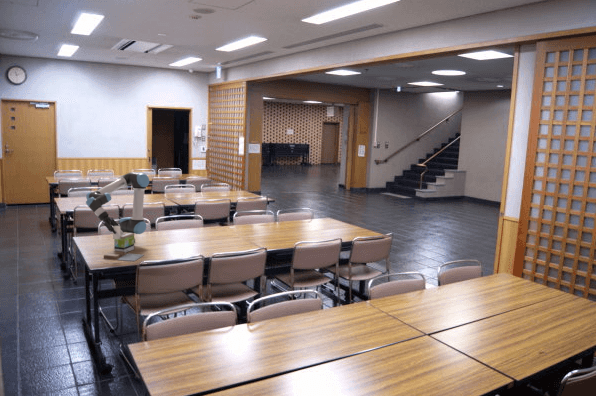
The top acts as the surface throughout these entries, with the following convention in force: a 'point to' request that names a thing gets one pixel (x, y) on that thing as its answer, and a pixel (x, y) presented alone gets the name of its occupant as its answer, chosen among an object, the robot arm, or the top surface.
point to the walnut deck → (114, 254)
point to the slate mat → (130, 257)
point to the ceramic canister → (117, 231)
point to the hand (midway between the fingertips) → (120, 235)
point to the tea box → (124, 242)
